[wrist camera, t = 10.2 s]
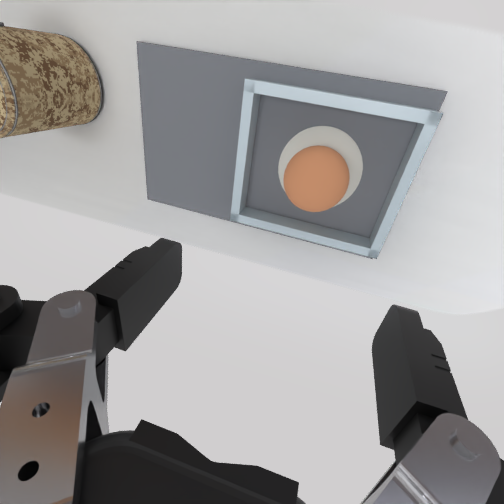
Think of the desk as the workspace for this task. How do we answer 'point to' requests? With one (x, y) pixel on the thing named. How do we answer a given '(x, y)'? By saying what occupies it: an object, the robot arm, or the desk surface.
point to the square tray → (339, 143)
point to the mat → (261, 134)
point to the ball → (316, 178)
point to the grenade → (44, 82)
